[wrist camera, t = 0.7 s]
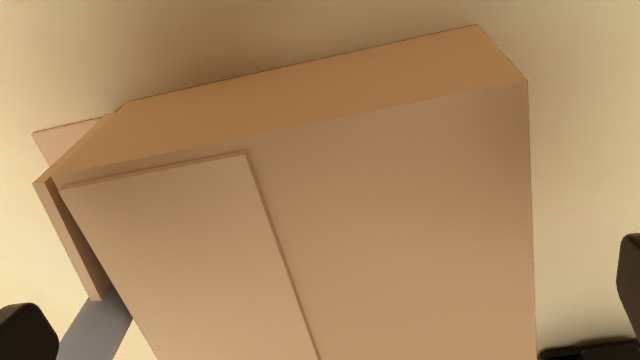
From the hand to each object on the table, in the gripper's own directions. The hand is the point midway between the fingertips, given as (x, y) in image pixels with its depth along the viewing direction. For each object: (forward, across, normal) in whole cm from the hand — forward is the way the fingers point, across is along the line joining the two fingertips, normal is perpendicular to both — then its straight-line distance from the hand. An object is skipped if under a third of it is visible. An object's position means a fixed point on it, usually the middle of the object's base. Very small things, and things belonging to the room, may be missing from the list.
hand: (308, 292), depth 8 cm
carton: (+13, +4, +10) cm, 17 cm away
